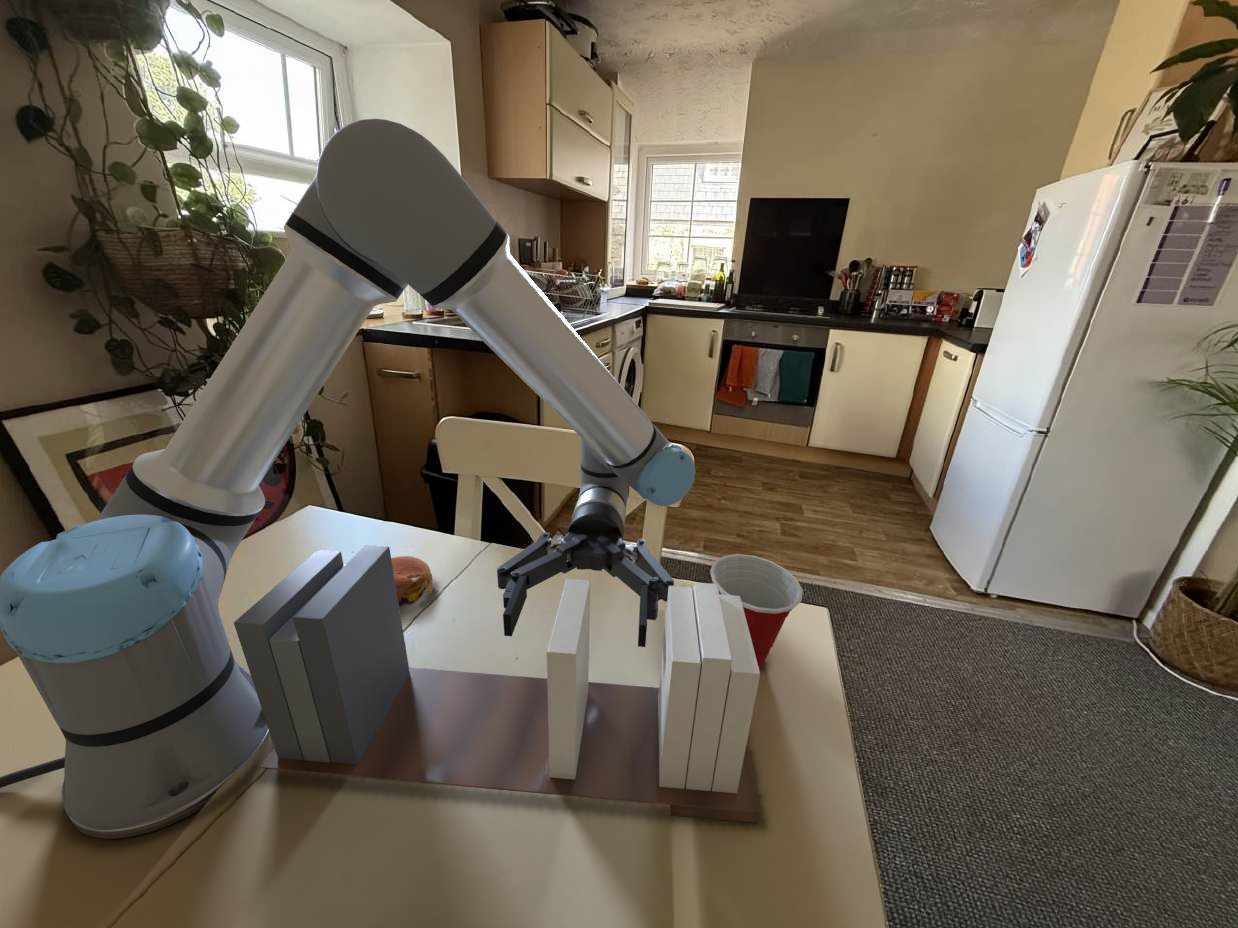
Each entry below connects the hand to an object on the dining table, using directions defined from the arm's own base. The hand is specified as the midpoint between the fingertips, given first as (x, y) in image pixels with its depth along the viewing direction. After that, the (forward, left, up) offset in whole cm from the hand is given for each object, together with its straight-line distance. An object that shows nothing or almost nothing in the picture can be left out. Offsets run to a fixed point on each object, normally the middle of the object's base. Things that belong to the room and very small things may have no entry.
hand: (574, 631), depth 49 cm
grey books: (-23, -3, -10) cm, 25 cm away
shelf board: (-5, -3, -12) cm, 13 cm away
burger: (-28, +18, -12) cm, 35 cm away
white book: (0, -3, -10) cm, 11 cm away
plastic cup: (+20, +11, -12) cm, 26 cm away
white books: (+13, -3, -10) cm, 16 cm away
